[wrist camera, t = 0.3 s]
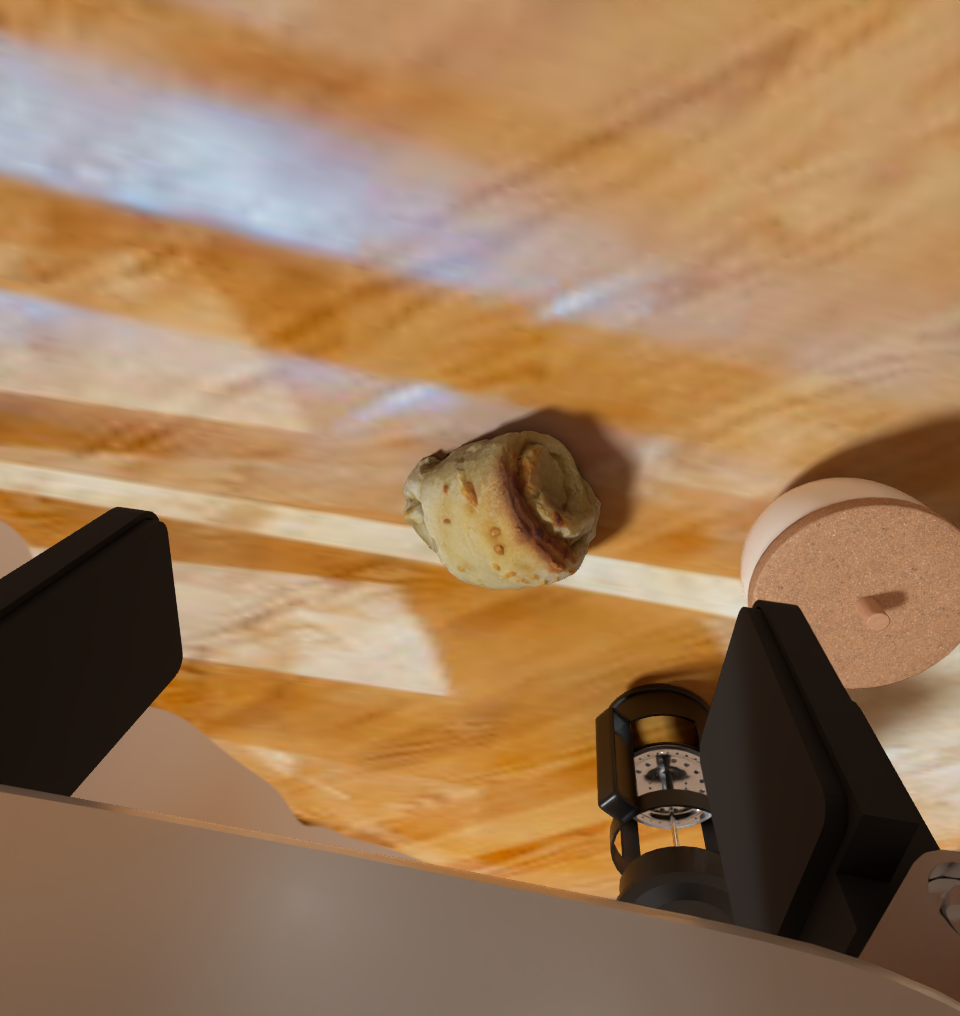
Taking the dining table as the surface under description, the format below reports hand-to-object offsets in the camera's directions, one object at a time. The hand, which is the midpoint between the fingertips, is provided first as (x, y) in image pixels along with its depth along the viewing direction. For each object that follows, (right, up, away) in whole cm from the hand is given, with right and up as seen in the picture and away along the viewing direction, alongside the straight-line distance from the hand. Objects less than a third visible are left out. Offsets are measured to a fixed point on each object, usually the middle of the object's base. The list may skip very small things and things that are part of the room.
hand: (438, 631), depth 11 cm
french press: (+15, -16, +45) cm, 50 cm away
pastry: (+3, +3, +39) cm, 39 cm away
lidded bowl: (+24, 0, +36) cm, 44 cm away
